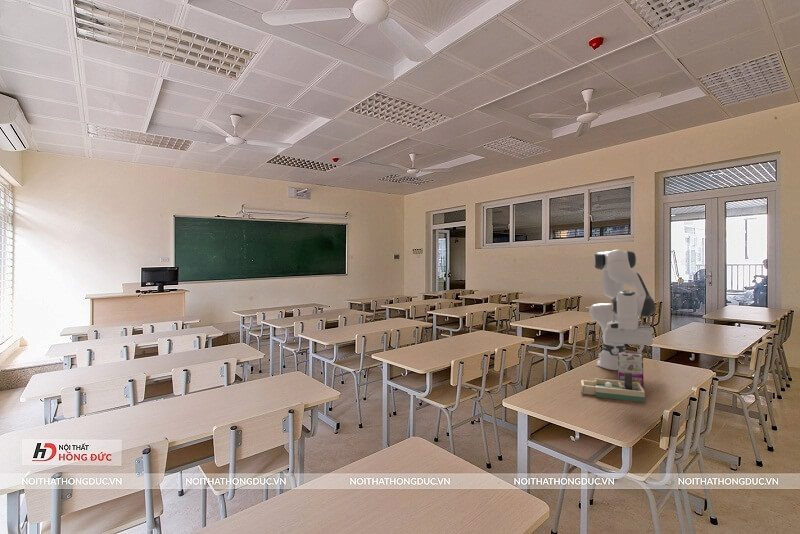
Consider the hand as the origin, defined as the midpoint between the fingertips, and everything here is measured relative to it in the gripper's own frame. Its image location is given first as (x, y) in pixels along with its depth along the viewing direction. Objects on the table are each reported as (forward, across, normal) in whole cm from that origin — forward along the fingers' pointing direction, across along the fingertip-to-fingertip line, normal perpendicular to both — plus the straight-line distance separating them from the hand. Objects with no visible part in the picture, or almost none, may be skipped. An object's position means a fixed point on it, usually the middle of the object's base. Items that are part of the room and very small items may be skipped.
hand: (628, 352), depth 177 cm
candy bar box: (+21, -4, -18) cm, 28 cm away
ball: (+17, +8, 0) cm, 19 cm away
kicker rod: (+18, +1, 0) cm, 18 cm away
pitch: (+21, +8, 0) cm, 22 cm away
